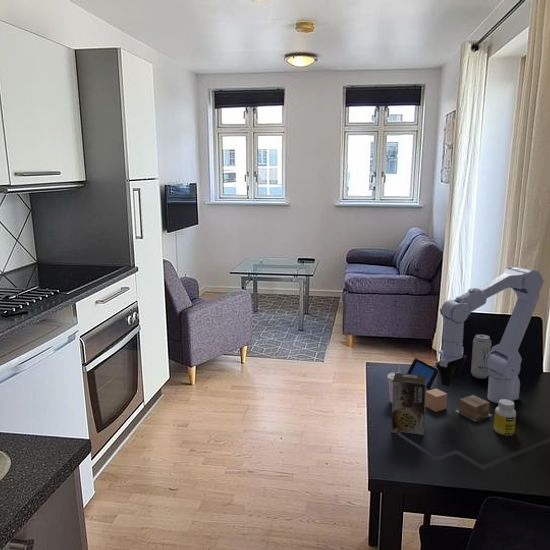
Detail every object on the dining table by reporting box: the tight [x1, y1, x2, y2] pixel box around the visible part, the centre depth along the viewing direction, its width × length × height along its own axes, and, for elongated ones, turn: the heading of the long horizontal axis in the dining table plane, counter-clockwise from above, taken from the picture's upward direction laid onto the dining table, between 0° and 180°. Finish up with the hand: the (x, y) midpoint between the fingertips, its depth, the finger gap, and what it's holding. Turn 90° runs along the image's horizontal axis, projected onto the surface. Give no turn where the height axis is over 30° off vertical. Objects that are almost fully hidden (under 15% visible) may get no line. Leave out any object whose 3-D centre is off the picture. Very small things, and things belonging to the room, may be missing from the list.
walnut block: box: [458, 394, 490, 420], centre depth 152 cm, size 6×6×4 cm
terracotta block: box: [425, 388, 448, 413], centre depth 156 cm, size 4×4×5 cm
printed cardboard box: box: [391, 372, 427, 436], centre depth 143 cm, size 9×6×16 cm
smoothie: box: [386, 362, 404, 404], centre depth 159 cm, size 6×6×14 cm
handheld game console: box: [406, 358, 439, 390], centre depth 173 cm, size 12×11×7 cm
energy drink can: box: [470, 333, 492, 379], centre depth 180 cm, size 6×6×15 cm
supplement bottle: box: [493, 399, 517, 437], centre depth 140 cm, size 5×5×10 cm
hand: (450, 381), depth 154 cm, fingers open, 7 cm apart
